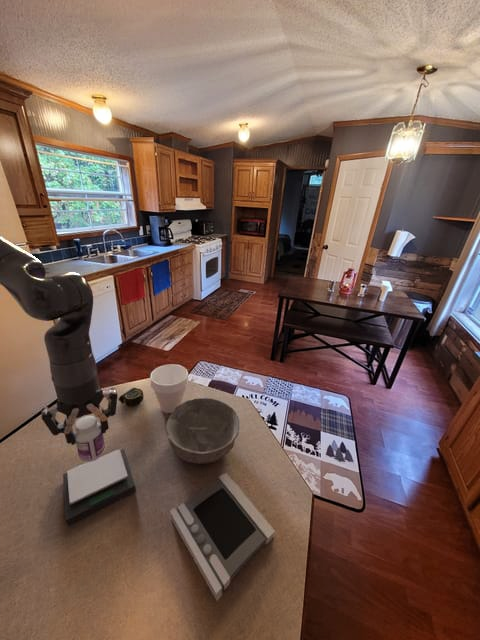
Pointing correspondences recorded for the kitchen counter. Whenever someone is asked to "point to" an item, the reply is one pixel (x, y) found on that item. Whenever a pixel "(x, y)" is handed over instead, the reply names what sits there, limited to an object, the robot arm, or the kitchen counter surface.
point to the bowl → (202, 430)
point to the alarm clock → (221, 531)
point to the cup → (169, 385)
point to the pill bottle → (89, 439)
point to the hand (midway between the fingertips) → (88, 435)
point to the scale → (96, 485)
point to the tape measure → (132, 397)
